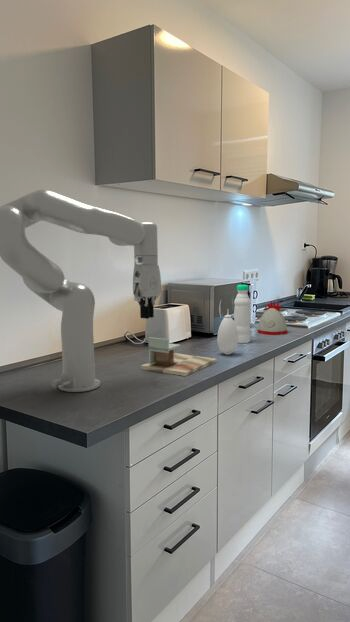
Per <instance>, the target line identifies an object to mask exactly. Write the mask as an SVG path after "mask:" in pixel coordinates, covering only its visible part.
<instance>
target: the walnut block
mask: <svg viewBox="0 0 350 622" xmlns="http://www.w3.org/2000/svg"><path fill="white" fill-rule="evenodd" d="M174 350H175V349H173V350H170V351H169V353H163V352H156V366H162V367H170V366H172V365H174V353H175V352H174Z"/></svg>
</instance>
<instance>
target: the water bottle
mask: <svg viewBox="0 0 350 622" xmlns="http://www.w3.org/2000/svg"><path fill="white" fill-rule="evenodd" d="M236 290H237V294H236V296H235V299H234V301H233V303H234V309H233V320H234V322H235V325H236V327H237V331H238V344H248V343H250V342H251V302H252V301H251V299H250V297H249V294H248V291H249V285H248V284H238V285H237V286H236Z"/></svg>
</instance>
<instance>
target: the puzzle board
mask: <svg viewBox="0 0 350 622" xmlns="http://www.w3.org/2000/svg"><path fill="white" fill-rule="evenodd" d="M217 362H218V359H217V358H214V357H207V356H199V355H192V354H191V355H190V354H183V353H176V352H174V365H172V366H170V367H162V366H156V362H155V363H152V364H149V362H147V363H145V364H142V365H140V369H141V370H144V371H152V372H157V373H163V374H169V375H174V374H175V376H180V375H181V377H187V376H189V375H192V374H193V372H194V373H196V372H198V371H201V370H202V369H204V368H206V367H209V366H211V365H212V364H215V363H217ZM195 371H196V372H195Z"/></svg>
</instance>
